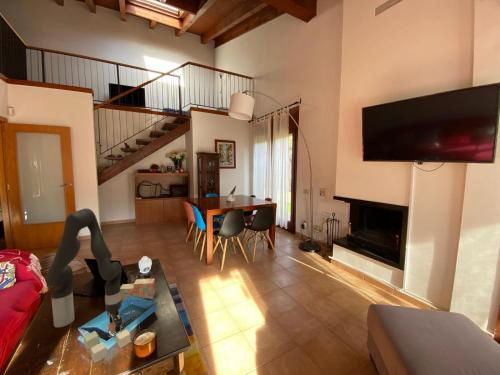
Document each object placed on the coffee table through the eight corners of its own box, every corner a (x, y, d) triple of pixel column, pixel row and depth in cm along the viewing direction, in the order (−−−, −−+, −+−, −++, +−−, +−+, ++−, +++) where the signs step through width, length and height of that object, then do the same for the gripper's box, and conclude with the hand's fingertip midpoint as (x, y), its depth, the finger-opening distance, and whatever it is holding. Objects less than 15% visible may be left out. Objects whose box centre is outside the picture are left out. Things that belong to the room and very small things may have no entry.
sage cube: (84, 345, 113) (83, 336, 112) (95, 339, 117) (95, 330, 116) (87, 350, 110) (86, 341, 109) (99, 344, 114) (98, 335, 113)
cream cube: (116, 343, 114) (115, 334, 114) (126, 337, 118) (126, 329, 118) (120, 348, 111) (119, 339, 111) (130, 342, 115) (130, 333, 115)
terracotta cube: (108, 332, 121) (108, 324, 121) (118, 327, 125) (118, 319, 125) (112, 337, 118) (111, 328, 118) (122, 332, 122) (121, 323, 121)
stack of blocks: (119, 302, 148) (118, 284, 146) (123, 296, 154) (122, 279, 153) (153, 299, 151) (152, 282, 150) (155, 294, 157) (155, 278, 156)
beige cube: (91, 357, 106) (90, 348, 105) (103, 350, 110) (102, 341, 109) (94, 363, 103) (94, 353, 102) (106, 356, 107) (106, 347, 106)
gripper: (100, 297, 121) (102, 325, 123) (110, 308, 112) (112, 338, 114) (115, 291, 127) (117, 318, 128) (126, 301, 118) (127, 329, 119)
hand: (115, 327), depth 121 cm, fingers open, 8 cm apart
